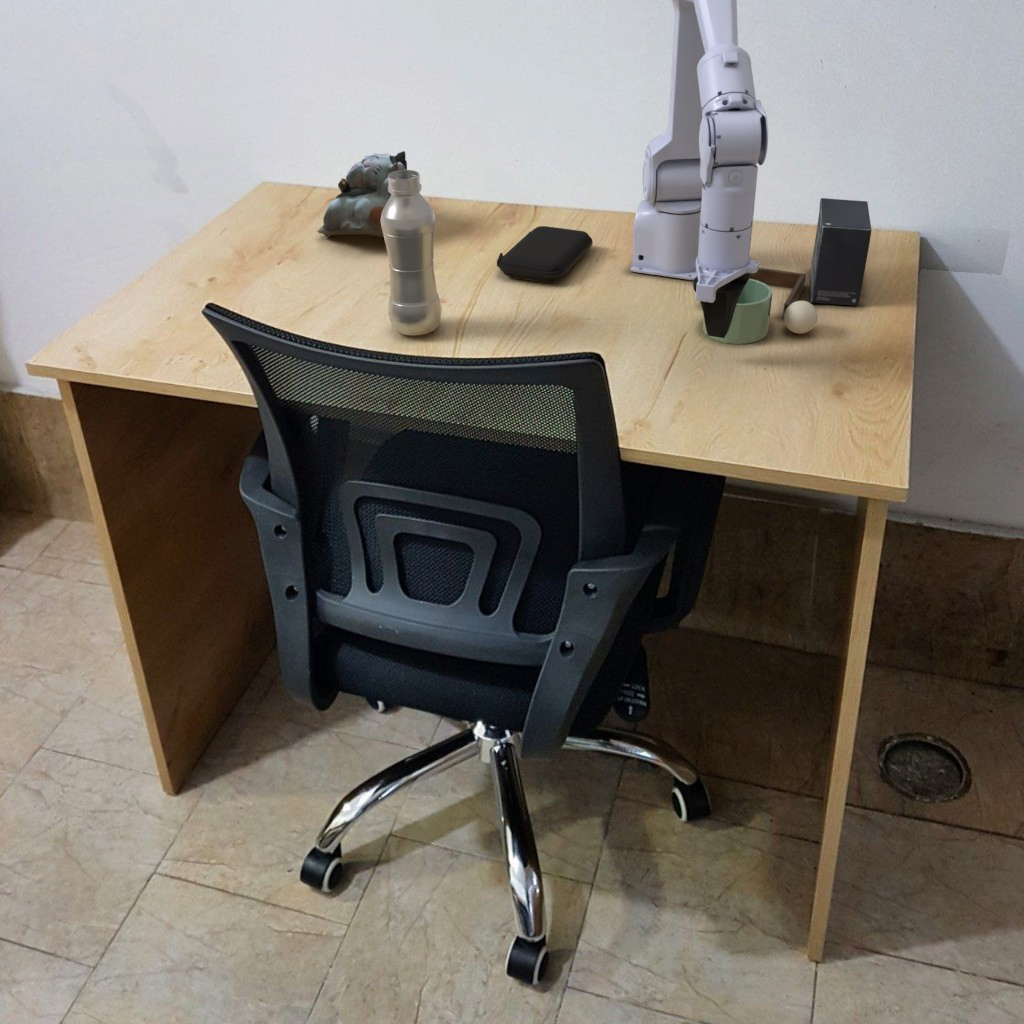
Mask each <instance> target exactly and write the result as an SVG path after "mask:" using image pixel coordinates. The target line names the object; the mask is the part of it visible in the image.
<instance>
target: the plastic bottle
mask: <svg viewBox="0 0 1024 1024" xmlns="http://www.w3.org/2000/svg"><path fill="white" fill-rule="evenodd" d="M388 184H389V186H388V191H389V193H391V197H390V198H389V200H388V201H387V203H386V205H385V207H384V209H383V211H382V215H381V219H380V221H381V227H382V231H383V235H384V237H383V238H384V244H385V248H386V253H387V261H388V263H389V264H388V266H389V267H388V268H389V297H388V298H389V299H388V309H387V311H388V312H387V314H388V318H389V321H390V325H391V326H392V327H393V329H394V330H395V331H396V332H397V333H399V334H401V335H406V336H421V335H426V334H429V333H431V332H434V331H435V330H436V329H437V328H438V326H439V325H440V323H441V319H442V311H443V309H442V304H441V300H440V296H439V293H438V289H437V288H438V287H437V281H436V274H435V268H434V267H435V264H434V263H435V261H434V259H435V257H434V243H435V231H436V214H435V212H434V209H433V207H432V206H431V204H429V201H427V199H425V197H424V196H423V195H422V194H421V193H420V192H421V191H422V190H423V189H422V188H423V187H422V184H421V175H420V172H419V171H416V170H413V169H407V170H399V171H394V172H392V173H390V174H389V175H388Z"/></svg>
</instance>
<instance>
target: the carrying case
mask: <svg viewBox="0 0 1024 1024" xmlns="http://www.w3.org/2000/svg"><path fill="white" fill-rule="evenodd" d="M593 242H594V241H593V237H591V236H590V235H589V234H588V232H587V231H584V230H579V229H578V230H577V229H570V228H569V229H568V228H563V227H555V226H547V225H540V226H536V227H535V228H533V229H532V230H531V231H528V233H527V234H526V235H525V236H523V238H521V239H520V240H519V241H518V242H517V243H516V244H515V245H514V246H512V247H511V248H510V249H509V250H508V251H507V252H506V253H505V254H504V253H503V252H500V253H499V255H498V258H497V260H496V267H497V268H499V270H500V272H502V273H503V274H504V275H505V276H506V277H508V278H513V279H519V280H520V279H521V280H528V281H534V282H538V283H539V282H540V283H546V284H547V283H548V284H554V283H557V282H559V281H561V280H562V279H563V278H564V277H565V276H566V275H567V274H568V273H569V272H570V270H572V269H573V267H575V265H576V264H577V263H578V262H579V261H580V260H581V259H582V258H583V257H584V256H585V254H586V253H587V252H588V251H589V250H590V249H591V248H592V246H593V244H594V243H593Z"/></svg>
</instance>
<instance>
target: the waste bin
mask: <svg viewBox="0 0 1024 1024" xmlns="http://www.w3.org/2000/svg"><path fill="white" fill-rule="evenodd" d="M772 301H773V290H772V288H771V287H770V285H769V284H765V283H763V282H760V281H758V280H754V279H749V280H748V282H747V283H746V285H745V287H744V288H743V290H742V292H741V294H740V297H739V299H738V302H737V305H736V308H735V311H734V315H733V318H732V322H731V325H730V328H729V330H728V333H727V334H726V336H725V338H720V337H714V336H708V335H707V331H706V326H705V320H704V314H703V313H702V331H703V333H704V334H705V336H707V337H708V338H710V339H712V340H714V341H716V342H719V343H720V342H721V343H725V344H729V345H730V344H731V345H744V344H745V345H746V344H751V343H756V342H758V341H760V340H763V339H764V338H765V337H767V335H768V332H769V327H770V320H771V310H772Z"/></svg>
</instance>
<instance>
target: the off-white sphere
mask: <svg viewBox="0 0 1024 1024" xmlns="http://www.w3.org/2000/svg"><path fill="white" fill-rule="evenodd" d="M818 316H819V315H818V311H817V309H816V307H815V306H814V305H813V303H811V302H809V301H807V300H797V301H796V302H794V303H792V304H791V305H789V306H788V308H787V309H786V311H785V314H784V318H783V322H784V324H785V327H786V328H787V329H788V330H789V331H790V332H792V333H793V334H798V335H800V334H801V335H802V334H806V333H808V332H811V330H812V329H814V327H815V326H816V325H817V322H818V318H819V317H818Z"/></svg>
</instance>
